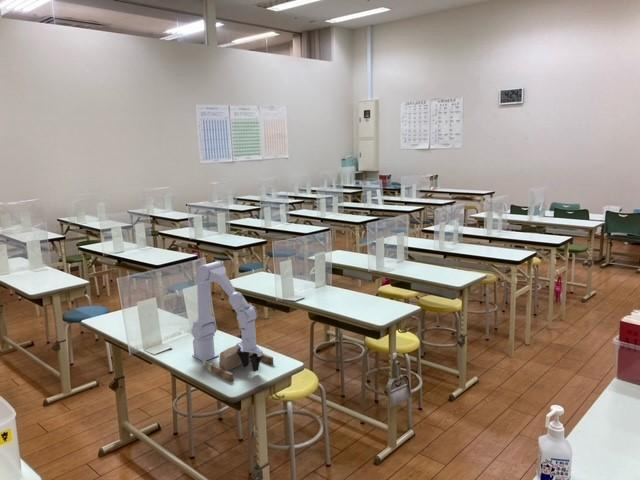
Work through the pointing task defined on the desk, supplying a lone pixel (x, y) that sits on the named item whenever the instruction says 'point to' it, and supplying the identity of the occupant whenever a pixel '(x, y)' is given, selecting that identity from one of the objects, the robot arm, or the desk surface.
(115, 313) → the desk surface
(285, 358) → the desk surface
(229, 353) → the brick
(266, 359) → the lane
